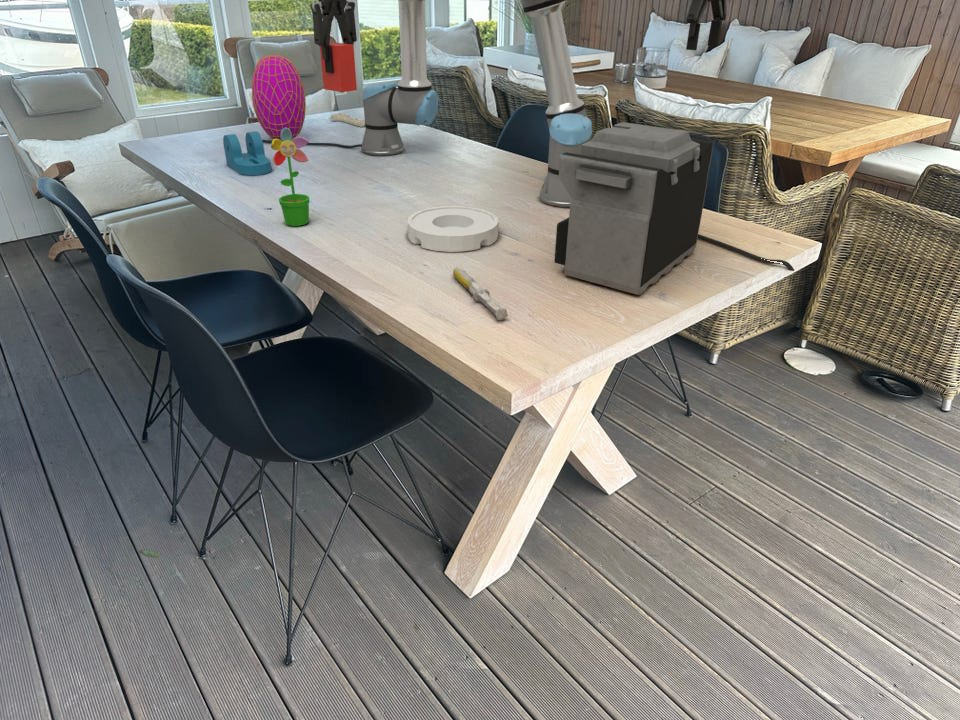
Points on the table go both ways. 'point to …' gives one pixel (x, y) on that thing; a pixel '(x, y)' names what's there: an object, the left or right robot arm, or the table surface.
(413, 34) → the left robot arm
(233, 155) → the camera mount
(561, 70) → the right robot arm
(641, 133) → the grey cooler box
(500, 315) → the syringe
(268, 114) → the decorative egg
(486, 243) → the ashtray
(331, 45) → the brick
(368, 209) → the table surface
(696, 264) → the table surface
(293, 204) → the potted flower
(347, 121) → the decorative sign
